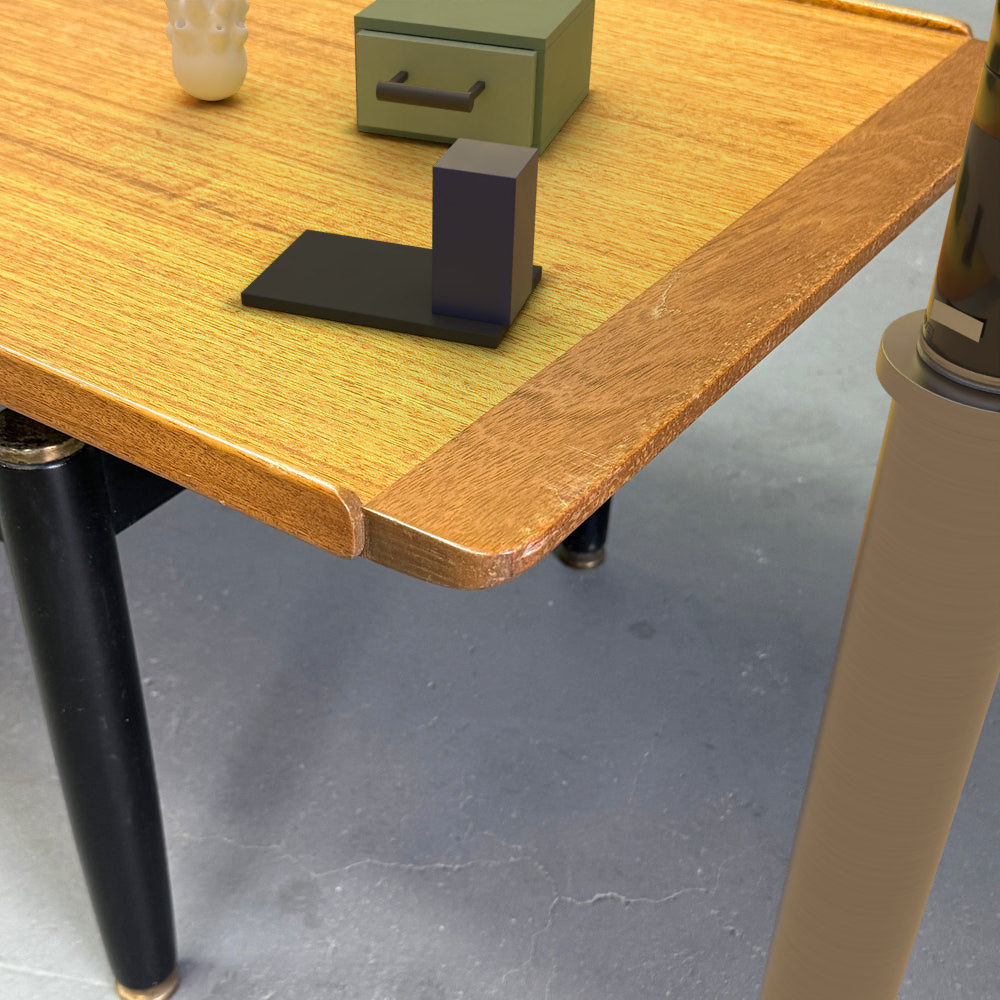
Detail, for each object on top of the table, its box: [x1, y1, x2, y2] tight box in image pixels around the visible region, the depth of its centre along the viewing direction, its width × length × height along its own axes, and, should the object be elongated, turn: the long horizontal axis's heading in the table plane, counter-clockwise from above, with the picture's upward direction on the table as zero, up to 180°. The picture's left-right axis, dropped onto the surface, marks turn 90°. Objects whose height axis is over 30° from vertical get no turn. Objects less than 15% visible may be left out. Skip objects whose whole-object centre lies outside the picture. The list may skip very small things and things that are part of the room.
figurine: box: [164, 0, 250, 102], centre depth 110 cm, size 7×7×12 cm
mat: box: [240, 228, 543, 349], centre depth 85 cm, size 16×10×1 cm, turn 73°
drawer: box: [356, 30, 537, 147], centre depth 107 cm, size 19×14×7 cm
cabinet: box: [353, 0, 596, 157], centre depth 110 cm, size 16×15×9 cm
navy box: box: [431, 138, 539, 327], centre depth 80 cm, size 5×5×9 cm
